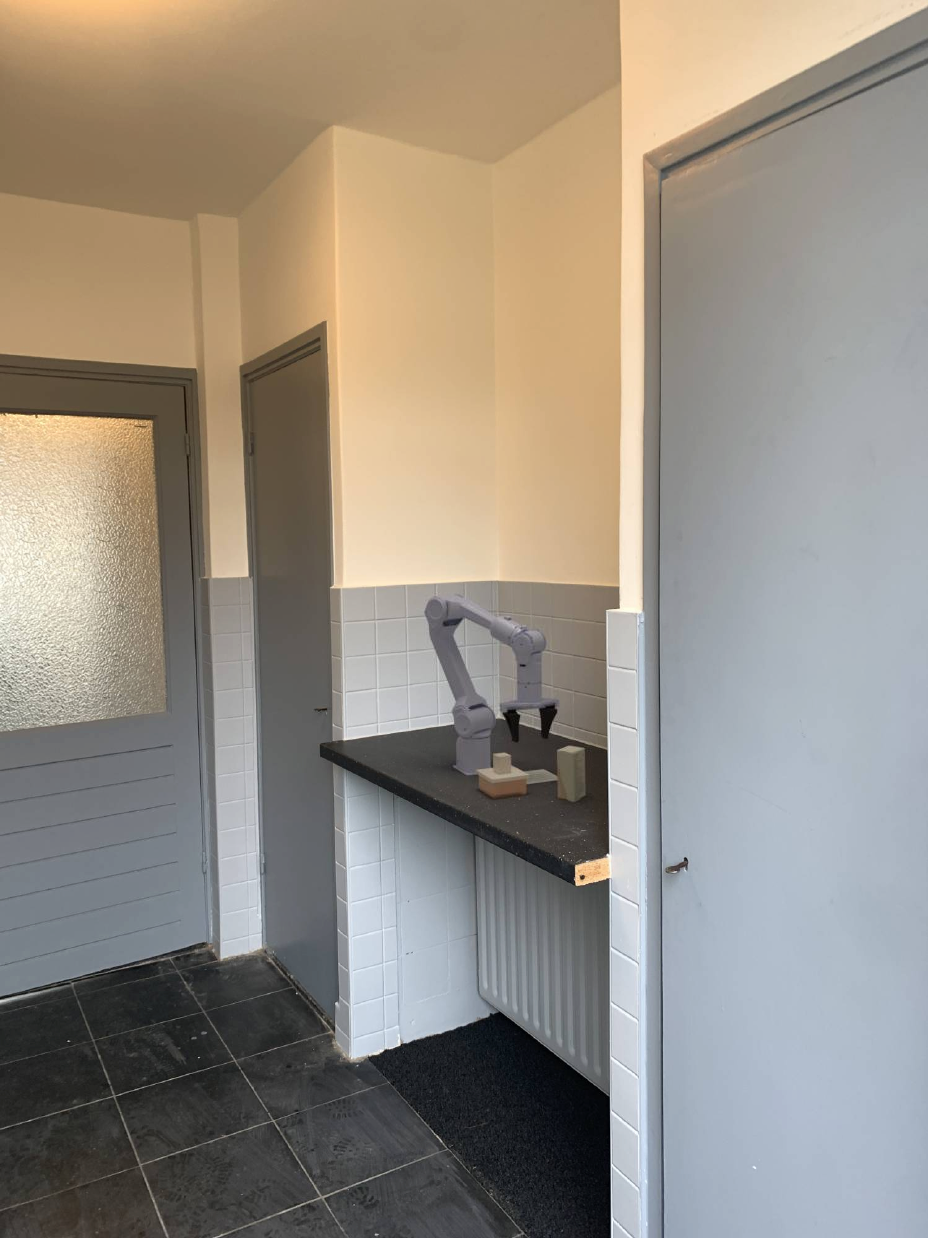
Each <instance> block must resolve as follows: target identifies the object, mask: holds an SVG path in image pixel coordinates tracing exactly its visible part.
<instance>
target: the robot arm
mask: <svg viewBox="0 0 928 1238" xmlns="http://www.w3.org/2000/svg"><path fill="white" fill-rule="evenodd" d="M423 614H424V616H425V618H426V621H427V624H428V631H429V632H428V633H429V634H428V635H429V638H430V639H429V640H430V641H431V644H432V646H433V648H434V651H435V652H436V656H437V658H438V661H439V663H440V665H441V668H442V671H443V674H444V675H445V678H446V681H447V683H448V686H449V688H450V690H451V694H452V695H453V697H454V700H455V703H454V705H453V707H452V710H451V713H452V716H453V727H454V729H455V731H456V733H457V734H458V737H457V739H456V743H455V748H456V751H455V752H456V753H455V754H456V764H455V765H453V766H452V767H453V768H454V769H456V771H457V770H458V771H459V772H461V773H462V774H464V776H465V775H466V776H474V775H477V774H476V770H479V769H487V768H493V767H491V734H492V730H493V728H494V727H495V725H496V723H497V716H496V713H495V711H494V710H493V708H491V706H489V704H488V702H487V700H486V699H485V697H483V696H481V695H479V693H477V691H476V688H475V687H474V686H475V685H474V683H473V681H472V679H471V678H472V677H471V676H470V674H469V671H468V668H467V667H466V664H465V661H464V659H463V657H462V654H461V651H460V649H459V647H458V645H457V642H456V639H455V637H454V634H455V631H456V630H457V629H458V627H459V626H460V624H461V623H462V621H463V620H464V619H465V620H467V621H470V622H472V623H474V624H477V625H479V626H481V627H483V628H485V629H487V630H489V633H490V636H491V637H492V638H493V639H496V640H497V641H499V642H501V643H502V644H504V645H506V646H508V647H510V648H511V650H512V652H513V653H514V655H515V662H516V680H517V681H516V682H517V683H516V685H517V686H516V687H517V689H516V690H517V691H516V692H517V694H516V695H517V697H516V698H517V699H516V700H510V701H504V702H499V711H500V712H501V713H502V716H503V717H504V719H505V722H506V724H507V726H508V729H509V732H510V735H511V741H512V742H514V743H519V742H520V739H519V738H520V735H519V734H520V731H519V729H520V721H521V714H519V713H518V711H525V710H535V709H538V712H539V717H540V736H541V739H542V738H543V739H545V740H548V739H549V734H550V731H551V728H552V724H553V722H554V720H555V718H556V715H558V708H559V707H560V698H557V697H546V698H545V697H543V682H542V681H543V678H542V677H543V676H542V673H543V671H542V670H543V667H542V653H543V652H544V650H545V649H546V647H547V639H546V636H545V635H544V633H543V632H542V631H540V629H538V628H532V629H529V628H528V626H527V625H526V624H520V623H518V622H516V621H514V620H512V619H513V618H512V616H510V615H500V616H498V617H496V616H495V615H494V614H492V613H491V612H488V611H487V610H485V609H484V608H483V607H481V606H479V605H477V604H476V603H474V602H473V601H472V600H471V599H470V598H468V597H465V596H464V595H462V594H460V593H459V594H456V593H455V594H452V595H444V596H433V597H430V599H428V601H427V604H426V607H425V608H424V611H423Z"/></svg>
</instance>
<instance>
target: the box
mask: <svg viewBox="0 0 928 1238" xmlns="http://www.w3.org/2000/svg"><path fill="white" fill-rule="evenodd" d="M585 752H586V749H585V748H584V747H579V746H575V745H574V746H573V745H567V746H565V747H562V748H559V749H557V750H556V765H557V767H556V770H557V772H556V773H557V774H556V776H557V780H556V782H557V798H558V799H563V800H565V801H566V802H570V803H576V802H577V801H579V800H581V799H583V798H584V797H586V753H585Z"/></svg>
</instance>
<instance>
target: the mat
mask: <svg viewBox="0 0 928 1238" xmlns="http://www.w3.org/2000/svg"><path fill="white" fill-rule="evenodd" d="M524 772H525V773H527V774H529V778H528V779H526V785H530V784H531V785H532V784H539V783H546V782H552V781H557V774H554V773H552V772H550V771H548V770H546V769H544V768H542V769H541V768H540V769H536V770H535V769H533V770H525V771H524Z"/></svg>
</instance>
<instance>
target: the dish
mask: <svg viewBox="0 0 928 1238" xmlns="http://www.w3.org/2000/svg"><path fill="white" fill-rule="evenodd" d="M478 789H479V791H481V792H482V793H484V794H486V795H487V796H489V797H490V798H492V799H493V800H494V799H502V798H508V797H509V798H510V797H515V796H524V795H527V784H526V779H520V780H513V781H505V782H498V783H491V782H489V781H488V780H486V779H484V778H483V777H481V776H479V775H478Z"/></svg>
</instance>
